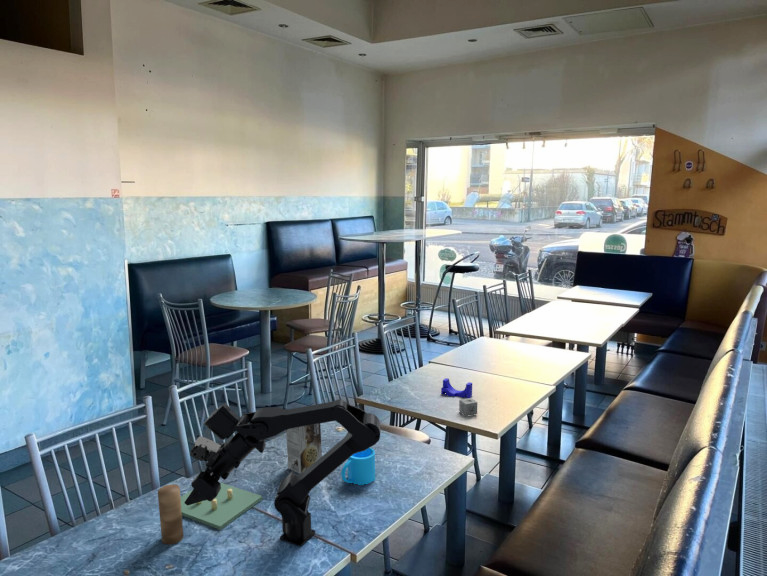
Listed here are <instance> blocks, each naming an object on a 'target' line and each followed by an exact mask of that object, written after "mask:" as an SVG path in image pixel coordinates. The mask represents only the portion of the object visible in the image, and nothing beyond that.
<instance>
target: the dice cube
mask: <svg viewBox="0 0 767 576" xmlns="http://www.w3.org/2000/svg"><path fill="white" fill-rule="evenodd" d="M458 403H459V404H458V405H459V407H458V410H459V411H460V412H461V413H463V414H464V415H465V416H464V415H463V414H462V415H463V416H464V417H469V416H468V415H472V416H475V415H474V414H477V415H478V401H476V400H474V398H472V397H471V398H462V399H461V398H460V399H459V401H458ZM459 411H458V412H459ZM460 412H459V413H460ZM461 413H460V414H461Z"/></svg>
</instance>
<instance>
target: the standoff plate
mask: <svg viewBox="0 0 767 576" xmlns="http://www.w3.org/2000/svg"><path fill="white" fill-rule="evenodd" d="M220 483H221V489H220V491H219V493H218V495H217V496H216V497H215V498H214V499H213V500H212V501H208V500H205V501H201V502H198V503H194V504H191V505H186V504H185V503H184V502H185V501H186V499H187V498H188V496H189V495H190V493H191V492H192V490H193V489H192V490H190V491H187V493H184V494H183V495H180V498H181V511H182V517H185V518H188V519H190V520H193V521H195V522H198V523H200V524H204V525H206V526H209V527H211V528H213V529H217V530H219V531H221V530H223V529H224V528H225V527H227V526H228V525H229V524H231V523H232V522H233V521H235V520H236V519H237V518H239V517H241V515H244V513H246V512H247V511H249V510H250V509H252V507H254V506H255V505H257V504H258V503H260V502H261V501H263V495H260V494H258V493H254V492H251V491H248V490H245V489H241V488H239V487H235V486H232V485H230V484H227V483H223V482H220Z"/></svg>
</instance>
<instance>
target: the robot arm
mask: <svg viewBox="0 0 767 576" xmlns="http://www.w3.org/2000/svg"><path fill="white" fill-rule="evenodd" d="M329 422H336V423H338V424H340V425H341V426H342V428H344V429H345V430H346V432H347V433H346V435H345V436H344V437H343V438H342V439H341V440H340V441H339V442H337V443H336V444H334V446H333V447H331V448H330V449H329V450H328V451H327V452H326V453H324V454H323V455H322V457H321V458H320V459H318V460H317V461H316V462H315V463H314V464H313V465H311V466H310V467H309V468H308V469H307V470H305V471H304V472H303V473H301V474H299V473H297V474H296V472H295V471H293V470H291V471H290V472H289V474H288V475H287V476H286V477H284V478H282V479H281V480H280V483H279V485H278V489H277V492H276V495H275V498H274V500H273V501H274V502H273V503H274V509H275V510H276V511H277V512H278V513H279V514H280V516H281V527H282V534H281V535H280V536H279V540H281V541H283V542H285V543H289V544H292V545H295V546H298V547H302V546H303V545H304V544H305V543H306V542H307V541H309V539H310V538H312V537H313V536H314V535H315V534H316V530H315V529H312V515H311V514H312V513H311V512H309V505H310V500H311V496H310V495H309V493H310V492H311V491H312V490H313V489H314V488H315V487H316V486H318V485H319V484H320V483H321V482H323V480H324V479H326V478H327V477H328V476H329V475H330V474H332V473H333V472H334V471H335V470H337V469H338V468H339V467H340V466H341V465H342V464H344V463H346V462H347V461H348V458H349V457H351V456H352V455H353V454H355V453H358V452H362V451H365V450H366V449H368V448H372V447H373V446H375V445H376V444H377V443H378V442H380V439H381V422H380V419H379V417H378V416H377V415H376V414H373V413H371V412H366V411H365V410H363V409H362V408H360V407H358V406H356V405H352V404H350V403H348V402H347V401H345V400H343V399H336V400H334V401H333V400H332V401H329V402H322V403H317V404H311V405H305V406H301V407H294V408H280V407H261V408H259V409H257V410H256V411H251V412H246V413H242V414H241V416H239V415H238V414H237V413H236V412H235V411H234V410H232V408H230V406H229V405H228V404H227V403H226V402H224V403H222V405H221V406H219V407H218V408H216V409H215V410H214V411H213V412H212V413H211V414H210V415H209V416H208V417H207V418H206V419H205V421H204V422H203V423H202V424H203V425H204V426H205V427H206V428H207V429H209V430H210V432H212V433H213V434H214V435H215V436H216V437H218V439H220V440H223V441H224V442H223V443H217V442H216V441H214V440H211V439H209V438H207V437H205V436H201V435H200V436H198V437H197V439H196V440H195V442H194V443H193V445H192V448H191V449H190V453H189V456H190V457H192V458H193V459H195V460H197V461H200V462H202V461H203V462H206V463H205V466H206V468H205V470H203V471H202V470H200V471H199V472H198V474H197V475H196V476H195V477H194V478H193V480H192V481H191V483H190V485H191V488H192V492H191V493H190V495H189V496H188V498H187V499H186V501H185V502H184V503H185V504H186V505H191V504H194V503H198V502H201V501H205V500H208V501H212V500H213V499H214V498H215V497H216V496H217V495H218V493H219V491H220V489H221V483H222V482H221V481H219V480H220V478H222V480H224V481H226V480H227V478H228V477H229V476H230V473H232V471H234V470H235V469H238V468H239V467H240V465H241V463H242V462H243V461H244V460H245V459H246V458H247V457H248V455H250V454H251V453H252V452H253V451H254V450H255V449H256V451H258V452H259V453H260V454H262V453H264V450H265V448H266V446H267V445H266V440H268V439H270V438H272V437H276V436H277V435H280V434H281V433H283V432H286V430H288V429H291V428H297V427H302V426H308V425H314V424H320V425H321V424H324V423H329ZM234 433H235V434H234ZM230 437H231V438H230ZM229 438H230V439H229ZM227 439H229V440H228V441H225V440H227Z"/></svg>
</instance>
